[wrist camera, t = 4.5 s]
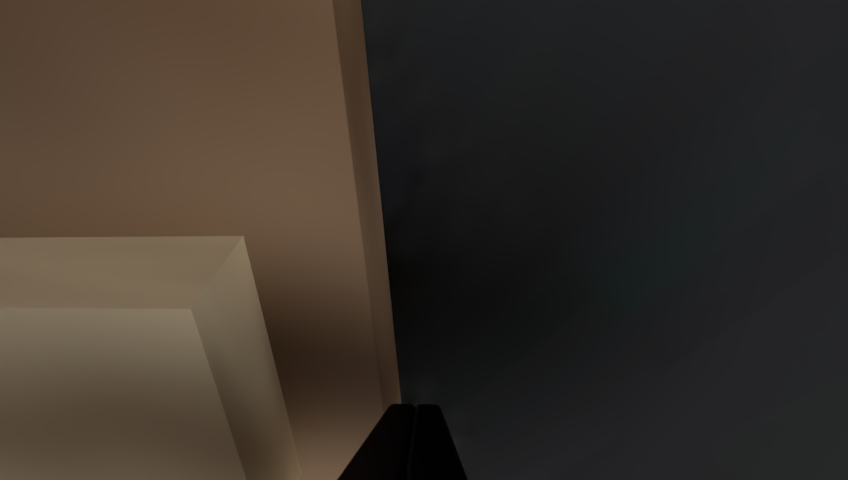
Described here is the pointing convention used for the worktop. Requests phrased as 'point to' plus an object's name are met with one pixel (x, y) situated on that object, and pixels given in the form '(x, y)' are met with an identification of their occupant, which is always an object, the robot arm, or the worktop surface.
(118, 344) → the birch tile
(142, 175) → the walnut board
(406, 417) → the robot arm
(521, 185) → the worktop surface
